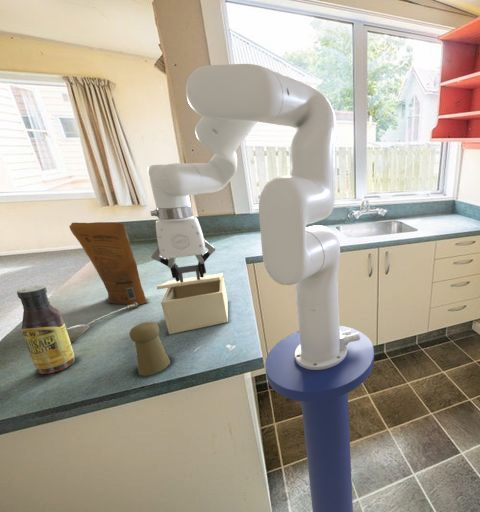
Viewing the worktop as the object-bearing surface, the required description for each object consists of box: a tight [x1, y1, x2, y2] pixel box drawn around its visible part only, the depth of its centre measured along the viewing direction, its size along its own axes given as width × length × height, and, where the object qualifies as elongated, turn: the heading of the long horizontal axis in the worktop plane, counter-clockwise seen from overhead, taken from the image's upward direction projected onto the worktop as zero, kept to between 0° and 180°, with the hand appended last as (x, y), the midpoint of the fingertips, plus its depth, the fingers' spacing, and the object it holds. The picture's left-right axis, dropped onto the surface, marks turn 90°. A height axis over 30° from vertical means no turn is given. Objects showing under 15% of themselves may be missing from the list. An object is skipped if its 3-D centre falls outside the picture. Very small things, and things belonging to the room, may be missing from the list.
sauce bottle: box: [16, 284, 76, 375], centre depth 66 cm, size 6×6×20 cm
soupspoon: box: [66, 302, 139, 343], centre depth 86 cm, size 22×3×7 cm
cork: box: [129, 321, 171, 377], centre depth 67 cm, size 6×6×11 cm
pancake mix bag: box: [68, 221, 148, 306], centre depth 96 cm, size 7×19×28 cm, turn 77°
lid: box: [156, 264, 224, 290], centre depth 87 cm, size 15×15×5 cm
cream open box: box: [160, 275, 229, 335], centre depth 90 cm, size 15×15×10 cm
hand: (190, 277), depth 83 cm, fingers closed on lid, 5 cm apart
